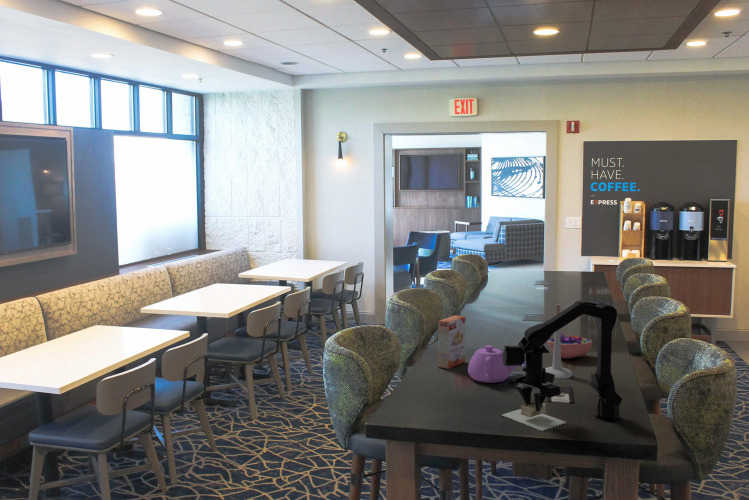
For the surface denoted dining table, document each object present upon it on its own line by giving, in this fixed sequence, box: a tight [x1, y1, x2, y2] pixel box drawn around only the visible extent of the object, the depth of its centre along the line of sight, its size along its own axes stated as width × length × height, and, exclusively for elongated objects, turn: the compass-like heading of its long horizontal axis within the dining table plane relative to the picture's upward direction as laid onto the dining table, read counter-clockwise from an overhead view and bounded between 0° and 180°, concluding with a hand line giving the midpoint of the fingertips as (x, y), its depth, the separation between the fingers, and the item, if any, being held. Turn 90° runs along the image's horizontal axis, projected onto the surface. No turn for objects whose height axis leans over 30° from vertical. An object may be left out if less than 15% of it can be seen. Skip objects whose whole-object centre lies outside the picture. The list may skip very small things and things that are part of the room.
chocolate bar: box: [547, 385, 574, 404], centre depth 260 cm, size 9×1×18 cm
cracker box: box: [437, 314, 466, 370], centre depth 301 cm, size 14×6×21 cm, turn 143°
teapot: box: [467, 344, 516, 384], centre depth 280 cm, size 22×22×14 cm
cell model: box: [546, 332, 593, 360], centre depth 310 cm, size 17×20×11 cm
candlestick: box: [544, 303, 573, 380], centre depth 285 cm, size 13×13×30 cm
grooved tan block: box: [520, 401, 547, 417], centre depth 235 cm, size 8×4×3 cm, turn 125°
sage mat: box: [501, 408, 567, 432], centre depth 235 cm, size 18×12×1 cm, turn 36°
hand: (533, 409), depth 235 cm, fingers closed on grooved tan block, 4 cm apart
